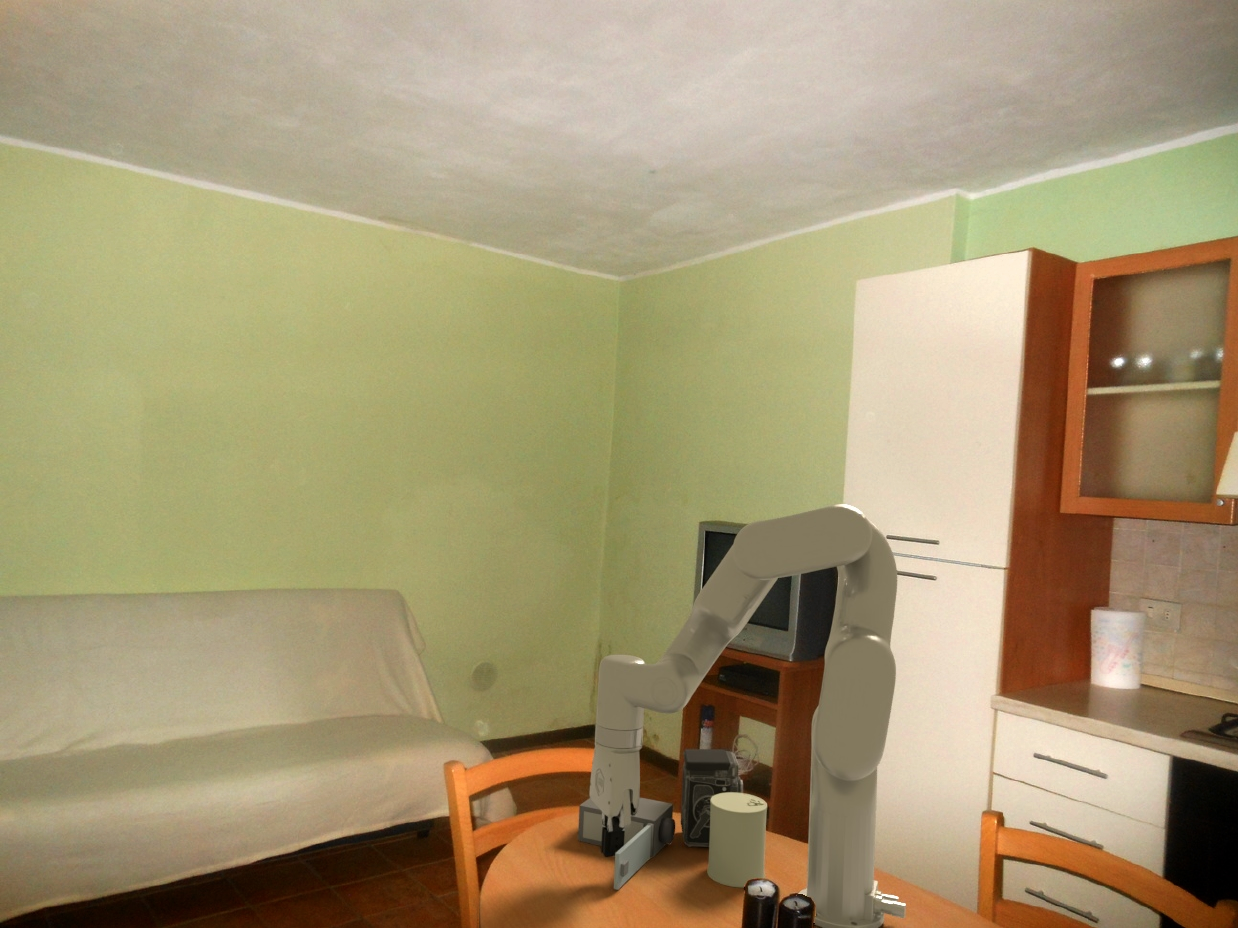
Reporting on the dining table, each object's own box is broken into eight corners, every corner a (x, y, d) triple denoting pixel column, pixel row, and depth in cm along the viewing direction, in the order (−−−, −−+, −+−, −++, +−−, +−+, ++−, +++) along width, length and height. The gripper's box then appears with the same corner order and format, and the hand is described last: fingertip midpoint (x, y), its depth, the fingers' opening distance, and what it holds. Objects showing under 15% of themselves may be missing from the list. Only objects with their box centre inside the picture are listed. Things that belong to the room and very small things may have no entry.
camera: (745, 854, 144) (748, 765, 144) (683, 851, 144) (686, 762, 145) (737, 830, 154) (740, 747, 155) (679, 827, 154) (683, 744, 155)
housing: (680, 840, 149) (681, 800, 149) (662, 859, 140) (663, 817, 141) (599, 822, 155) (601, 785, 155) (577, 840, 146) (579, 800, 147)
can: (769, 889, 131) (772, 810, 132) (710, 886, 131) (713, 808, 132) (759, 863, 141) (762, 790, 141) (704, 861, 141) (706, 787, 141)
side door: (647, 854, 141) (648, 822, 141) (655, 856, 141) (656, 824, 141) (612, 888, 129) (614, 852, 129) (621, 890, 128) (623, 854, 128)
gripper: (581, 723, 139) (574, 837, 138) (613, 751, 125) (606, 877, 124) (623, 721, 141) (616, 832, 141) (660, 748, 128) (653, 872, 127)
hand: (612, 853), depth 132 cm, fingers closed
